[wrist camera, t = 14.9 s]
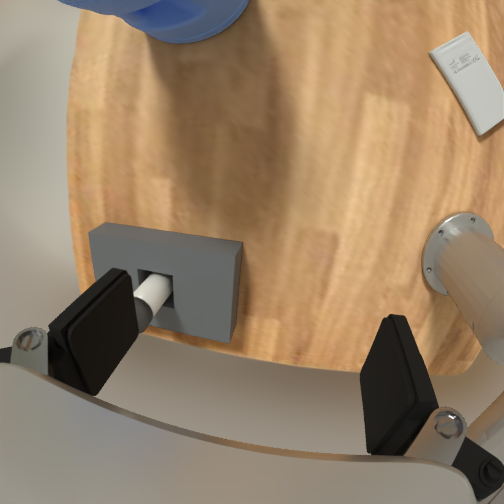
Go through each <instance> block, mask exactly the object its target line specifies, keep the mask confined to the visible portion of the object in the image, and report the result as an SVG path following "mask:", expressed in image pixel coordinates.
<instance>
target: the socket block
mask: <svg viewBox="0 0 504 504" xmlns="http://www.w3.org/2000/svg"><path fill="white" fill-rule="evenodd" d="M88 233H89V241H90V248H91V255H92V262H93V268H94V274H95V280H96V281H97V280H99V279H100V278H101V277H102V276H103V275H104V274H105V273H107V272H108V271H109V270H110V269H111V268H118V269H123V270H126V271H127V272H128V275H130V276H131V278H132V286H133V293H134V292H135V291H136V289H137V288H138V287H139V286H140V285H141V284H142V283H143V282H144V281H145V280H146V279H147V278H148V277H149V276H150V274H151V273H152V272H157V273H162V274H168V275H173V291H172V293H171V294H170V295H169V297H168V298H167V299H166V301H165V302H164V303H163V305H162V306H161V307H160V309H159V310H158V311H157V313H156V314H155V316H154V317H153V319H152V321H151V322H150V324H149V325H151V326H155V327H159V328H163V329H167V330H171V331H175V332H179V333H183V334H188V335H192V336H197V337H201V338H206V339H210V340H215V341H220V342H225V343H230V340H231V338H232V335H233V332H234V329H235V326H236V318H237V305H238V293H239V280H240V268H241V256H242V244H243V242H238V241H231V240H224V239H217V238H211V237H204V236H197V235H190V234H183V233H177V232H170V231H163V230H156V229H149V228H142V227H135V226H128V225H121V224H114V223H106V222H105V223H103V224H102V225H100V226H98V227H97V228H95V229H93V230H92V231H90V232H88Z"/></svg>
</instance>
